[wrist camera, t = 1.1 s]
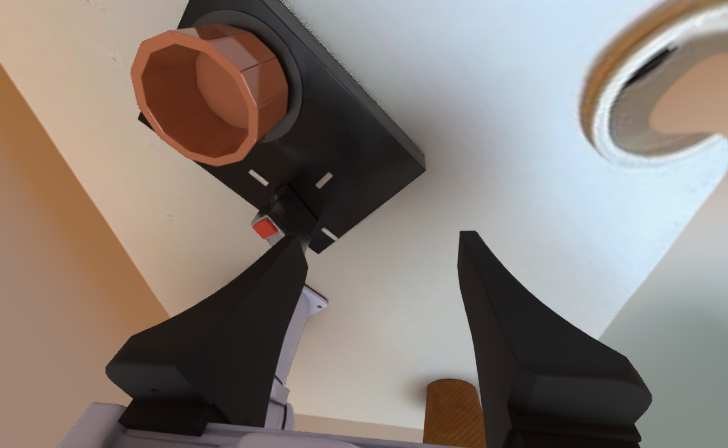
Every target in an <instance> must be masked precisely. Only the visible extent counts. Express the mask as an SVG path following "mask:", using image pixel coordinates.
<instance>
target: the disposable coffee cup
mask: <svg viewBox="0 0 728 448" xmlns="http://www.w3.org/2000/svg"><path fill="white" fill-rule="evenodd" d="M423 444H434V445H444V446H454V447H464V448H487V446H486V437H485V428H484V419H483V413H482V409H481V406H480V402H479V399H478V395H477V391H476V389H475V388H474V387H473V386H472V385H470V384H468V383H466V382H463V381H459V380H440V381H436V382H434V383H432V384H430V385H429V386H428V388H427V398H426V410H425V421H424V436H423Z"/></svg>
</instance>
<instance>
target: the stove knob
mask: <svg viewBox="0 0 728 448" xmlns="http://www.w3.org/2000/svg"><path fill="white" fill-rule="evenodd" d="M251 224H252V225H253V227H252V228H253V229H254V230H255V231H256V232H257V233H258V234H259V235H260V236H261V237H262V238H263V239H264V238H265V239H266V240H267V241H268V242H269V243H270V244H271V246H272V247H273V246H274V245H275V244H276V243H277V242H278V241H279V240H280V239H282V238H283V237H284V236H285V235H298V237H299V240H300V243H301V246H302V249H303V252H304V254H305V252H306V250H307V247H308V245H309V243H310V240H311V238H312V235H313V233H314V231H315V228H316V226H317V224H318V221H317V220H316V218H315V217H314V216H313V215H312V213H311V212H310V211H309V210H308V208H307V207H306V206H305V205H304V203H303V202H302V201H301V200H300V198H299V197H298V196H297V195H296V193H295V192H294V191H293V190H292V188H291V187H290V186H289V185H288V184H286V185H284V186H283V187H281V188H279V189H277V190H275V191H273V193H272V194H271V196H270V197H269V198H268V200H267V201H266V202H265V204H264V205H263V207H262V208H261V209H260V211H259V212H258V214H257V215H256V216H255V218H254V219H253V220H252V222H251Z"/></svg>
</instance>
